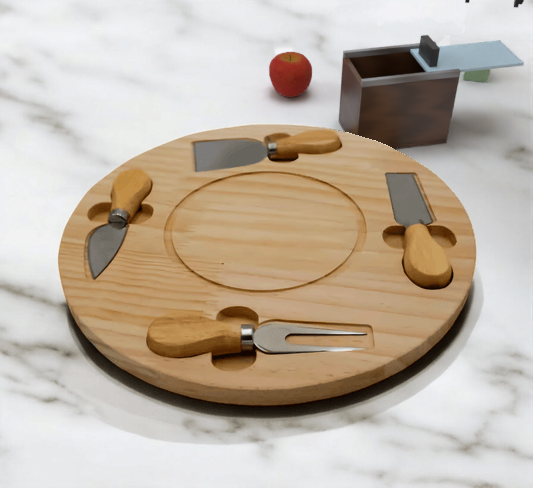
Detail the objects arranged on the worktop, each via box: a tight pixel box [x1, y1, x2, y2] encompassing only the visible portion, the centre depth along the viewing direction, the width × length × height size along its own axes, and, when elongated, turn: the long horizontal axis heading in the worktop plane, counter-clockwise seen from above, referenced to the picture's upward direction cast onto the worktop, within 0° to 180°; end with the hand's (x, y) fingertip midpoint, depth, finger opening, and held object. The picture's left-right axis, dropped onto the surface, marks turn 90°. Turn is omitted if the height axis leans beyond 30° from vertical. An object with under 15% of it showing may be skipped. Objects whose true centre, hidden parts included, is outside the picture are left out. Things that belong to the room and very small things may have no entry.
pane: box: [410, 34, 524, 73], centre depth 103 cm, size 16×8×4 cm, turn 101°
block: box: [463, 69, 491, 83], centre depth 124 cm, size 4×4×4 cm
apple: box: [268, 51, 313, 98], centre depth 119 cm, size 8×8×8 cm
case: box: [338, 41, 462, 150], centre depth 107 cm, size 16×11×13 cm
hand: (491, 3), depth 116 cm, fingers open, 8 cm apart
